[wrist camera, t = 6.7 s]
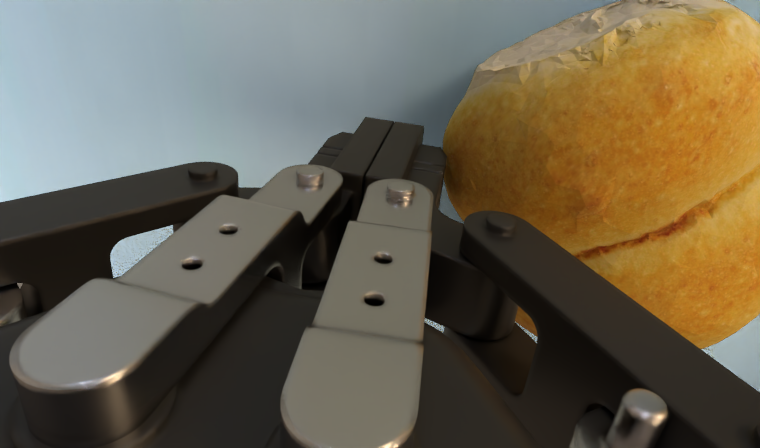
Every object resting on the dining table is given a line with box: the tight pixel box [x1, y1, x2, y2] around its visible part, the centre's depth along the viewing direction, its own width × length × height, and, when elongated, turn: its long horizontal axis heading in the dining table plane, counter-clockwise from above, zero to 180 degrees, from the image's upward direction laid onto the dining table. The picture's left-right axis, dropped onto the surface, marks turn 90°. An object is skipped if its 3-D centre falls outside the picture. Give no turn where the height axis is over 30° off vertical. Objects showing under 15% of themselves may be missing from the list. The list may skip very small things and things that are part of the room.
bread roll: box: [443, 0, 760, 349], centre depth 14 cm, size 8×9×4 cm
